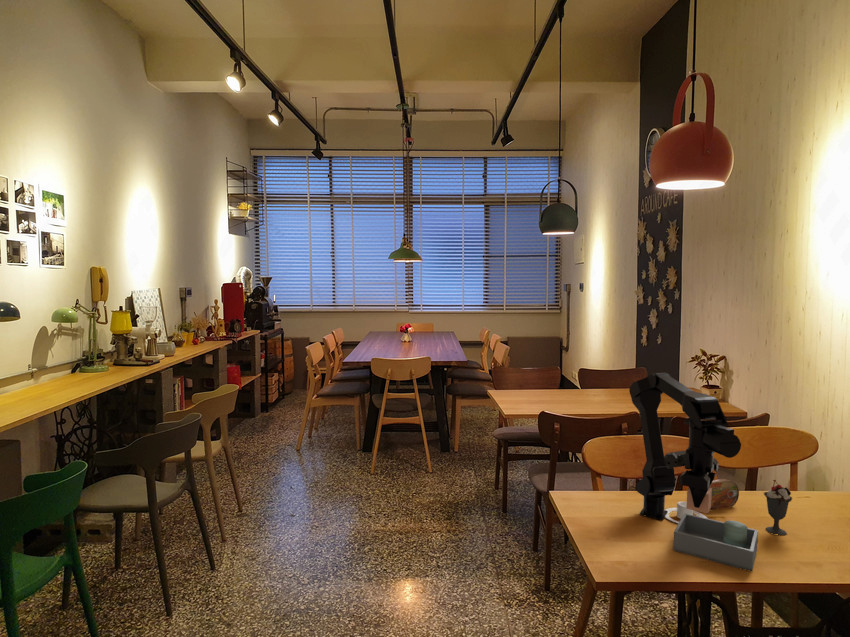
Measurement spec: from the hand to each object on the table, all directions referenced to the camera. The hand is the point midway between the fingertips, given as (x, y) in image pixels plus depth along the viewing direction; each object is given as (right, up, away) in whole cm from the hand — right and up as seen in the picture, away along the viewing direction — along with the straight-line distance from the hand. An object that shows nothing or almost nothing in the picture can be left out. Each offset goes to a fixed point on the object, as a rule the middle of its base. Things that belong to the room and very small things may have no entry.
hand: (698, 503), depth 141 cm
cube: (0, -1, 0) cm, 1 cm away
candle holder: (+5, -10, +17) cm, 21 cm away
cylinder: (+7, -11, -4) cm, 13 cm away
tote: (+3, -11, -2) cm, 12 cm away
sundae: (+25, -11, +8) cm, 29 cm away
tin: (+17, -10, +24) cm, 31 cm away
